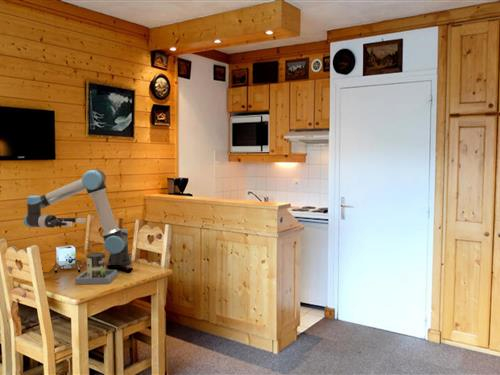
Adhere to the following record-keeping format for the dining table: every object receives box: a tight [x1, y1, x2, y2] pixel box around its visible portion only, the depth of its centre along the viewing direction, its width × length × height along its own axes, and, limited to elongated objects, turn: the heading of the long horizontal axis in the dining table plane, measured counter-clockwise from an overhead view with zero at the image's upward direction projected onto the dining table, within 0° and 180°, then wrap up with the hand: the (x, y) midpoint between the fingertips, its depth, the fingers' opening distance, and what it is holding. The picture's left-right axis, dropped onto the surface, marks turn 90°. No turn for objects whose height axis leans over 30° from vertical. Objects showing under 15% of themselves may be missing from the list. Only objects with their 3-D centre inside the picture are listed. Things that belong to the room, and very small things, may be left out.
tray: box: [74, 269, 118, 285], centre depth 265 cm, size 18×18×3 cm
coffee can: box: [85, 252, 106, 278], centre depth 264 cm, size 10×10×14 cm
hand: (78, 222), depth 274 cm, fingers open, 13 cm apart
